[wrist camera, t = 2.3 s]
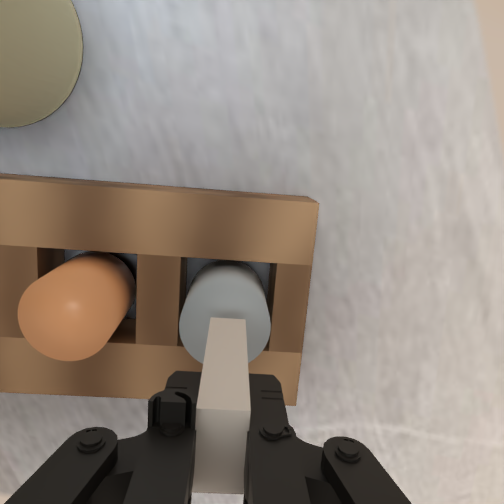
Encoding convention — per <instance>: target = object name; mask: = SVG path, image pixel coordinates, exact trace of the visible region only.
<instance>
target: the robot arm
mask: <svg viewBox="0 0 504 504" xmlns="http://www.w3.org/2000/svg"><path fill="white" fill-rule="evenodd" d="M192 492H197V493H224V494H243V493H244V500H243V504H411V502H410V501H409V500H408V499H407V497H406V496H405V495H404V493H403V492H402V491H401V490H400V488H399V487H398V486H397V485H396V483H395V482H394V481H393V479H392V478H391V477H390V476H389V474H388V473H387V472H386V471H385V469H384V468H383V467H382V465H381V464H380V463H379V462H378V460H377V459H376V458H375V457H374V455H373V454H372V453H371V451H370V450H369V449H368V448H367V447H366V446H365V445H364V444H362V443H360V442H359V441H357V440H355V439H352V438H348V437H333V438H330V439H328V440H327V441H326V442H325V443H324V447H323V448H322V447H319V446H315V445H312V444H309V443H306V442H304V441H302V440H300V439H299V438H297V437H296V433H295V431H294V429H293V428H292V427H291V426H290V425H289V423H288V418H287V413H286V408H285V403H284V397H283V393H282V387H281V382H280V381H279V380H278V379H277V378H276V377H275V376H274V375H270V374H251V373H249V372H248V354H247V337H246V320H245V319H231V318H214V317H211V318H210V325H209V331H208V337H207V344H206V350H205V356H204V362H203V369H202V372H194V371H175V372H174V373H173V374H172V375H171V376H169V377H168V379H167V383H166V386H165V389H164V390H163V391H160V392H158V393H156V394H154V395H153V396H152V397H151V398H150V399H149V401H148V428H147V431H146V432H144V433H142V434H140V435H138V436H135V437H131V438H126V439H121V440H117V435H116V434H115V433H114V432H113V431H112V430H110V429H107V428H103V427H92V428H86V429H83V430H81V431H78V432H76V433H75V434H73V435H72V436H71V437H69V438H68V439H67V440H66V441H65V442H64V443H63V444H62V445H61V446H60V447H59V448H58V449H57V450H56V451H55V452H54V453H53V454H52V455H51V456H50V457H49V458H48V460H47V461H46V462H45V463H44V464H43V465H42V466H41V467H40V468H39V469H38V470H37V471H36V472H35V473H34V474H33V475H32V476H31V477H30V478H29V479H28V480H27V481H26V482H25V483H24V484H23V485H22V486H21V487H20V488H19V489H18V490H17V491H16V492H15V493H14V494H13V495H12V496H11V497H10V498H9V499H8V500H7V501H6V502H5V503H4V504H191V495H192Z"/></svg>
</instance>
